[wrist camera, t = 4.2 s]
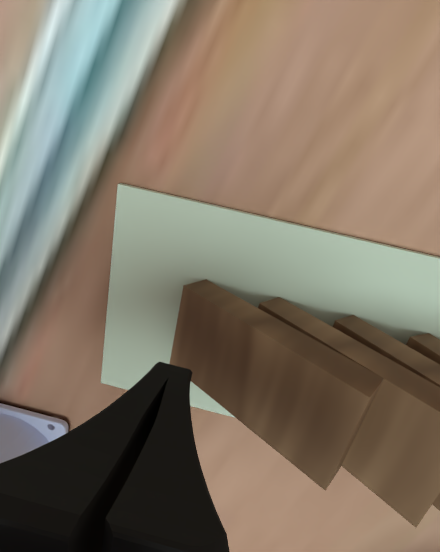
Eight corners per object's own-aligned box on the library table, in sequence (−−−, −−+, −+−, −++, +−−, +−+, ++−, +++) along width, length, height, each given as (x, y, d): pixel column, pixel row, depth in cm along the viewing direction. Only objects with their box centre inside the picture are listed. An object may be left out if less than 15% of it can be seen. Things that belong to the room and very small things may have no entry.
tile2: (237, 380, 18) (416, 527, 12) (259, 303, 16) (478, 435, 11) (256, 369, 19) (428, 501, 13) (279, 296, 17) (486, 413, 12)
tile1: (169, 363, 18) (325, 490, 13) (183, 285, 16) (369, 397, 11) (191, 353, 19) (341, 465, 14) (206, 279, 17) (383, 378, 12)
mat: (103, 378, 21) (100, 382, 21) (121, 183, 16) (117, 183, 16) (563, 497, 20) (569, 504, 19) (720, 322, 15) (731, 326, 15)
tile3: (305, 395, 18) (509, 570, 12) (335, 320, 16) (594, 479, 10) (323, 386, 19) (520, 543, 13) (353, 314, 17) (598, 456, 11)
